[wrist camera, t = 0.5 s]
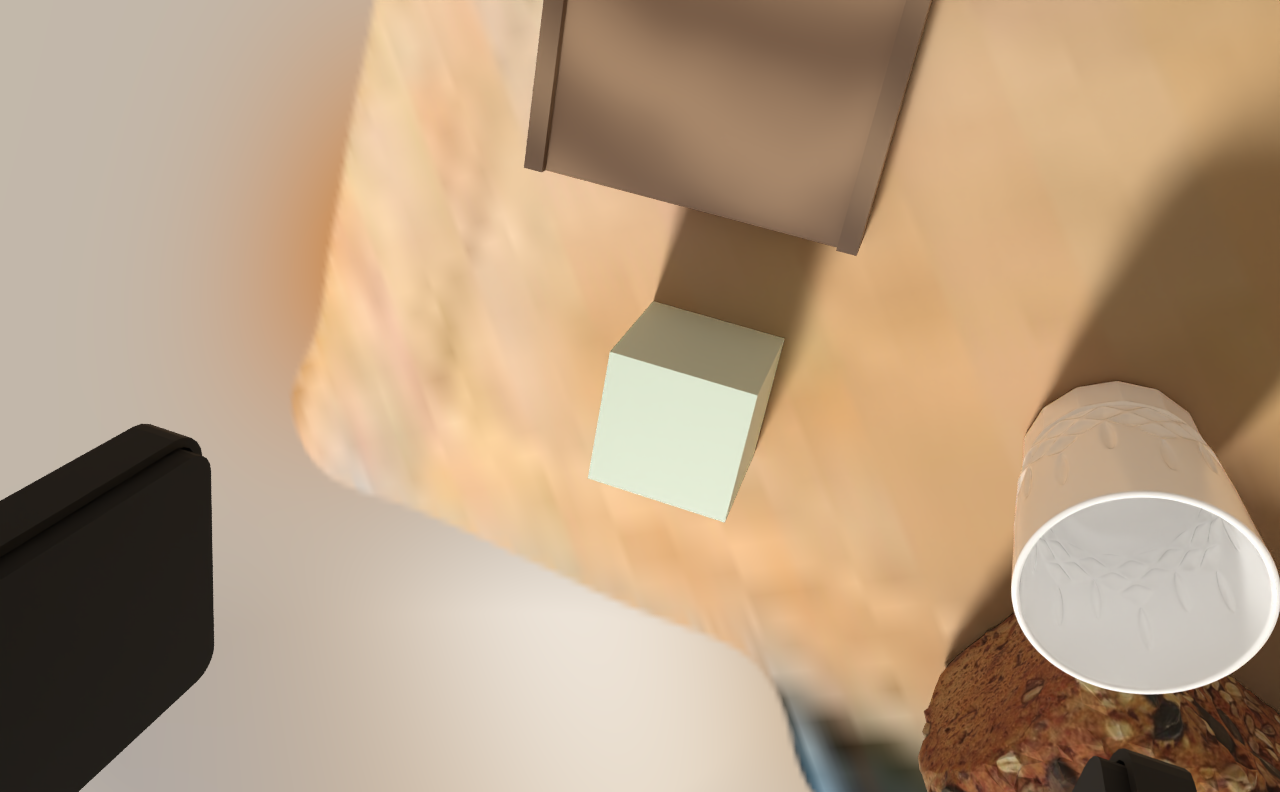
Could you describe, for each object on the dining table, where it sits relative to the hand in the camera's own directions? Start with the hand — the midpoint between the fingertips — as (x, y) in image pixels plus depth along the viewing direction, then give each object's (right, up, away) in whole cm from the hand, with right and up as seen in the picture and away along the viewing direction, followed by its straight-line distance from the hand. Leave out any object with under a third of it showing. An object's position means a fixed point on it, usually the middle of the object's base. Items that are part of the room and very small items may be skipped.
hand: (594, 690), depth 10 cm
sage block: (+3, +4, +35) cm, 36 cm away
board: (+4, +18, +28) cm, 34 cm away
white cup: (+20, +1, +31) cm, 37 cm away
